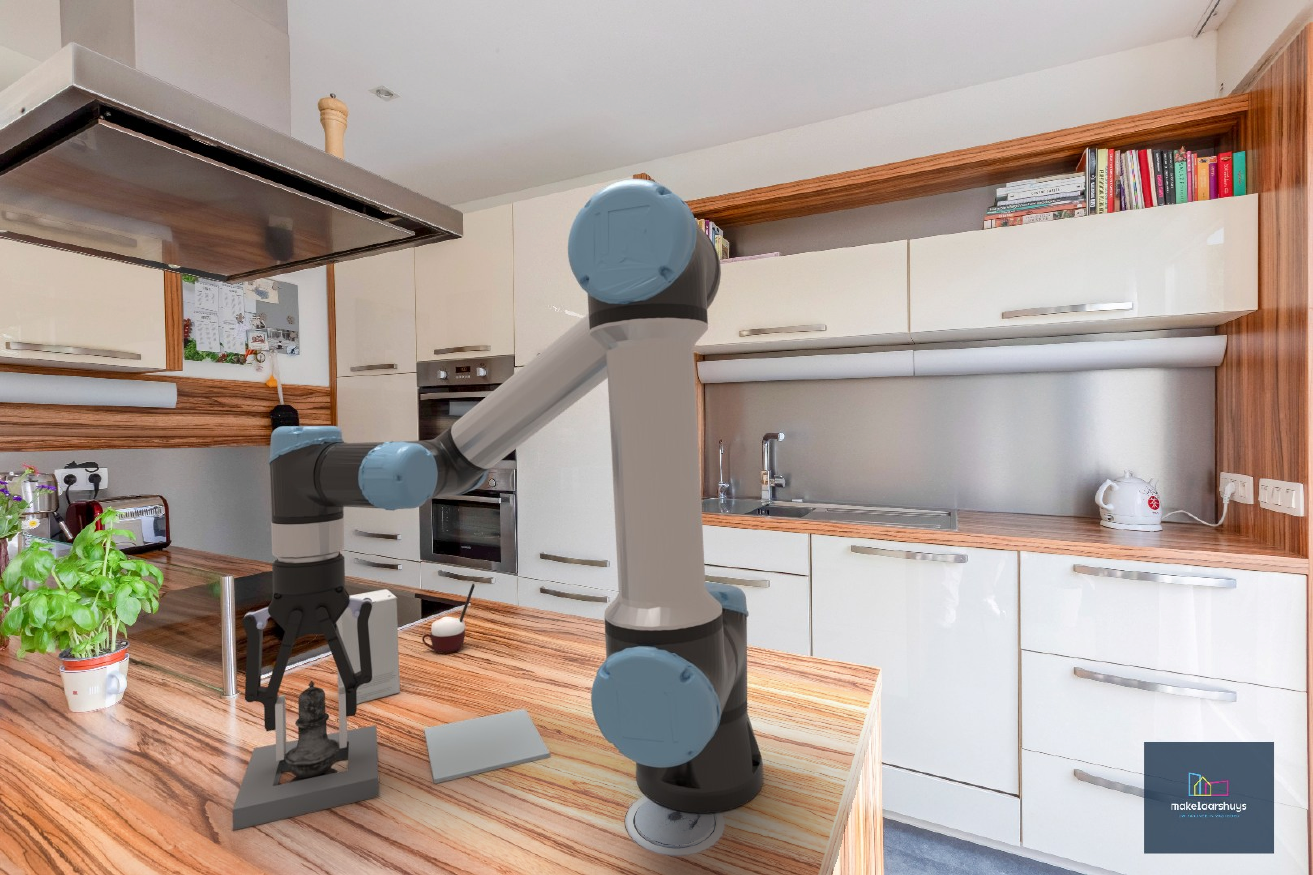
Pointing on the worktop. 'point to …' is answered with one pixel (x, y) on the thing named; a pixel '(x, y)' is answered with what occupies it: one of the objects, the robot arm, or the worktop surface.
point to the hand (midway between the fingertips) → (313, 748)
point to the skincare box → (374, 645)
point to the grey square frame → (306, 782)
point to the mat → (483, 745)
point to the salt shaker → (312, 738)
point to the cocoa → (448, 631)
